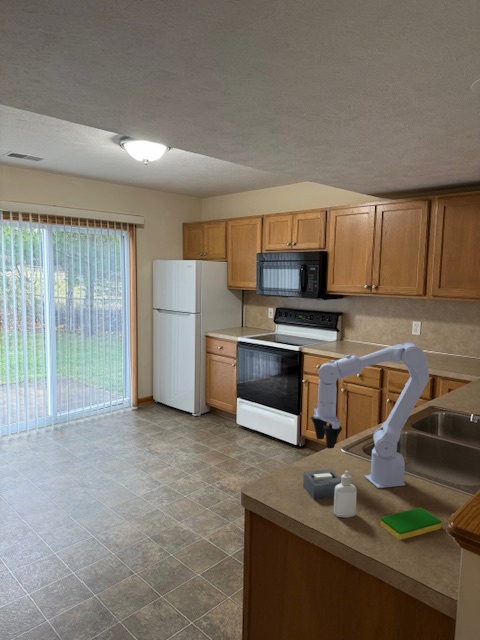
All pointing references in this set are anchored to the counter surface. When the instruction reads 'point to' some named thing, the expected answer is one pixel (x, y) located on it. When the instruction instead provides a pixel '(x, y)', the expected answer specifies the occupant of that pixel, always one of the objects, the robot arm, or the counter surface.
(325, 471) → the slot box
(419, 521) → the dish sponge
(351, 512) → the eye dropper bottle
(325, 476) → the block
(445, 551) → the counter surface
